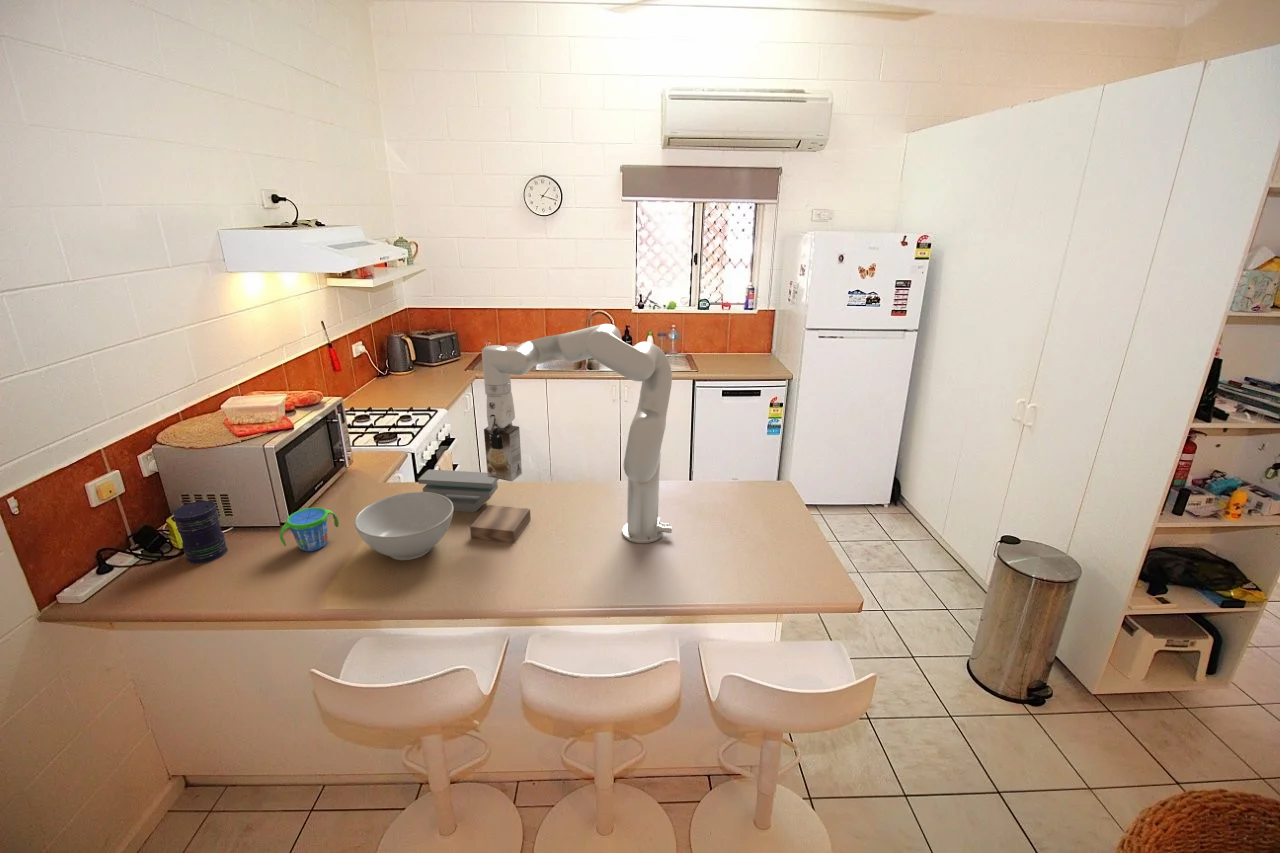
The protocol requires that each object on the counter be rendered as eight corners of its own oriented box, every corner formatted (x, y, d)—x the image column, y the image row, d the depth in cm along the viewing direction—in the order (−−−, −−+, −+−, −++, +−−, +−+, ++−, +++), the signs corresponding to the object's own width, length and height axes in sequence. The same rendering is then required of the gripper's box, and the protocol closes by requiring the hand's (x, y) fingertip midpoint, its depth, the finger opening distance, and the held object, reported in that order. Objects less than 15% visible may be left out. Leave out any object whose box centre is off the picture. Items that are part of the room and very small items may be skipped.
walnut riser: (530, 519, 192) (530, 509, 190) (514, 542, 179) (513, 531, 178) (489, 515, 194) (488, 504, 193) (471, 538, 181) (470, 526, 180)
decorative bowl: (339, 563, 168) (332, 526, 164) (405, 519, 191) (400, 485, 187) (416, 584, 159) (411, 545, 155) (475, 535, 183) (472, 500, 179)
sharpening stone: (502, 502, 203) (499, 473, 199) (494, 513, 196) (492, 483, 192) (432, 497, 205) (428, 469, 202) (422, 508, 198) (418, 479, 194)
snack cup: (288, 563, 168) (281, 531, 164) (279, 547, 175) (272, 517, 171) (346, 543, 178) (341, 513, 174) (336, 529, 185) (330, 500, 181)
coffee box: (486, 477, 183) (482, 428, 177) (498, 469, 188) (494, 421, 183) (512, 482, 180) (508, 432, 174) (523, 473, 185) (520, 425, 180)
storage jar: (183, 567, 165) (169, 520, 160) (189, 550, 173) (176, 505, 168) (226, 558, 169) (213, 512, 164) (230, 542, 178) (218, 497, 172)
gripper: (497, 397, 165) (502, 456, 171) (521, 380, 181) (524, 434, 187) (472, 395, 167) (478, 454, 173) (498, 379, 182) (502, 432, 189)
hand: (502, 443), depth 180 cm, fingers closed on coffee box, 7 cm apart
